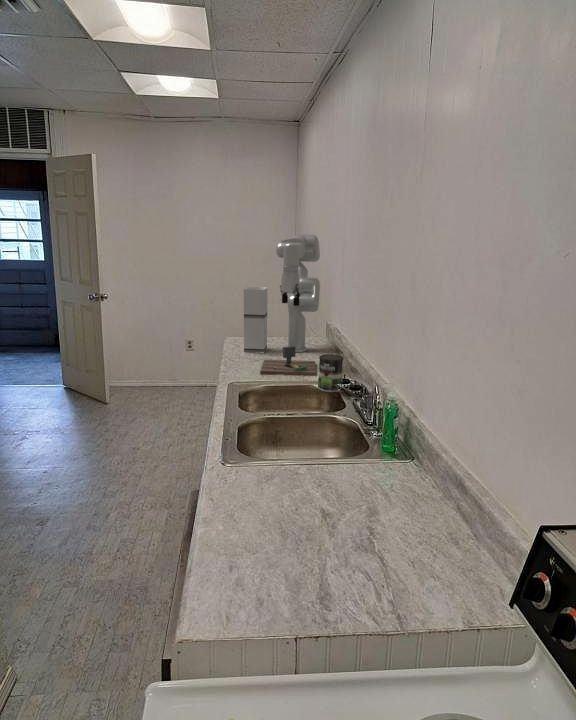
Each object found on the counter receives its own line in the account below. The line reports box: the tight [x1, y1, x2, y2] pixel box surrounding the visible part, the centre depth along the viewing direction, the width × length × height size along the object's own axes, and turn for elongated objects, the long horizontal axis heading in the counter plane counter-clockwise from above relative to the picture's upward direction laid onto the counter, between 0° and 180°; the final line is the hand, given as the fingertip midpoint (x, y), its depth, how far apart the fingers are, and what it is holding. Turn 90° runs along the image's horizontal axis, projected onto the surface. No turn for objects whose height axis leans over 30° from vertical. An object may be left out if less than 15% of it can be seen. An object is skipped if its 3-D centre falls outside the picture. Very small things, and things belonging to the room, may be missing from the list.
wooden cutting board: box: [260, 359, 317, 377], centre depth 251 cm, size 22×26×3 cm
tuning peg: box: [282, 345, 299, 368], centre depth 247 cm, size 11×6×9 cm, turn 30°
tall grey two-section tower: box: [243, 286, 268, 353], centre depth 285 cm, size 11×11×35 cm
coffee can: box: [317, 353, 345, 393], centre depth 219 cm, size 10×10×14 cm
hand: (290, 304), depth 255 cm, fingers open, 9 cm apart
